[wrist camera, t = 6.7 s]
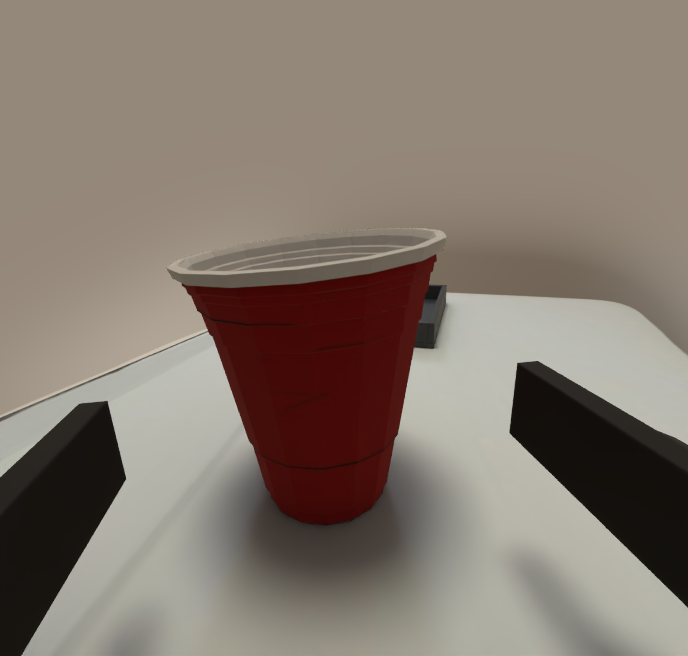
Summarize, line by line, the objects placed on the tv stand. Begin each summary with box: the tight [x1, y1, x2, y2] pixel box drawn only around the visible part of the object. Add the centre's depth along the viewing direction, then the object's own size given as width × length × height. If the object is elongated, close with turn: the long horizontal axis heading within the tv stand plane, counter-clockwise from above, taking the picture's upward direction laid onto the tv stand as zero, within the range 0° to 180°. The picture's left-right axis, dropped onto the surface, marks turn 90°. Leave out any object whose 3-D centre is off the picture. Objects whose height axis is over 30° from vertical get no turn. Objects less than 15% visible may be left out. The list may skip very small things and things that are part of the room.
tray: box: [414, 285, 447, 348], centre depth 48 cm, size 21×19×2 cm
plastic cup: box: [167, 228, 447, 525], centre depth 17 cm, size 11×11×12 cm
